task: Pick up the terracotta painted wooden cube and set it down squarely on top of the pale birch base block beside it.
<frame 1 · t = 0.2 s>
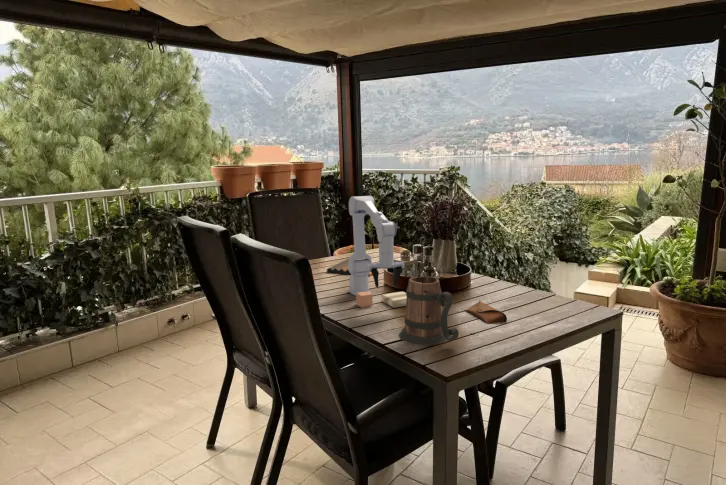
hand: (386, 286, 194), 10 cm above the table, tool pointing down, fingers open, 7 cm apart
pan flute: (357, 270, 266), on the table
base: (398, 302, 205), on the table
sunglasses case: (484, 317, 188), on the table
cube: (364, 305, 203), on the table
tankard: (429, 339, 165), on the table
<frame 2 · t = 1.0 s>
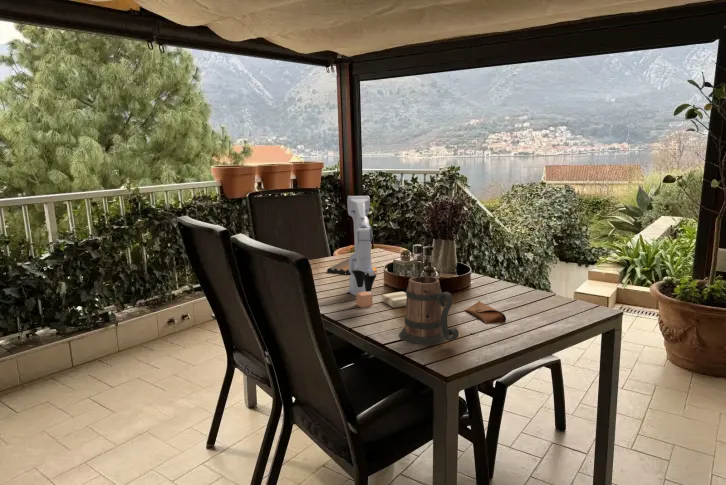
hand: (364, 289, 201), 7 cm above the table, tool pointing down, fingers open, 7 cm apart
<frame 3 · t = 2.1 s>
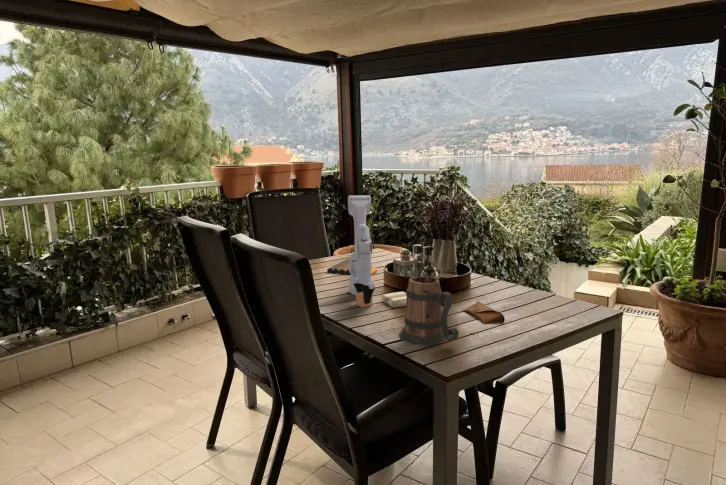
hand: (364, 301, 202), 1 cm above the table, tool pointing down, fingers closed on cube, 5 cm apart
cube: (364, 304, 203), on the table, touching gripper
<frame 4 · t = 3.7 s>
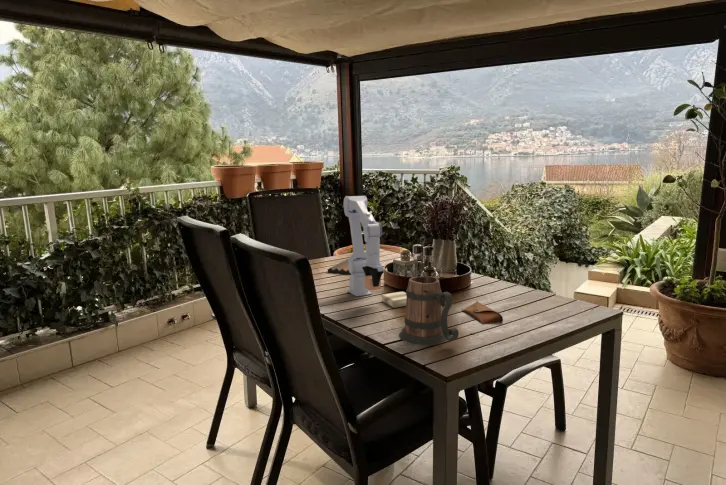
hand: (372, 284, 202), 8 cm above the table, tool pointing down, fingers closed on cube, 5 cm apart
cube: (372, 288, 202), point 7 cm above the table, touching gripper
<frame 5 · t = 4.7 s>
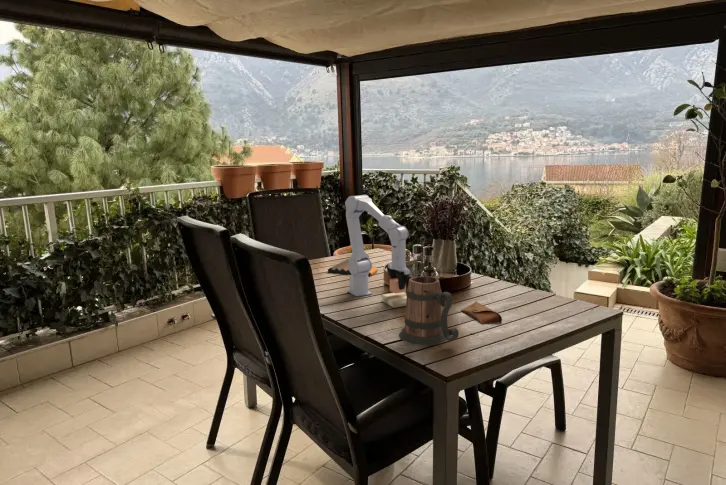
hand: (398, 287, 204), 7 cm above the table, tool pointing down, fingers closed on cube, 5 cm apart
cube: (397, 291, 204), point 5 cm above the table, touching gripper
when the fingers open (5 cm above the table, at t = 5.4 s): cube stays where it is, resting on base.
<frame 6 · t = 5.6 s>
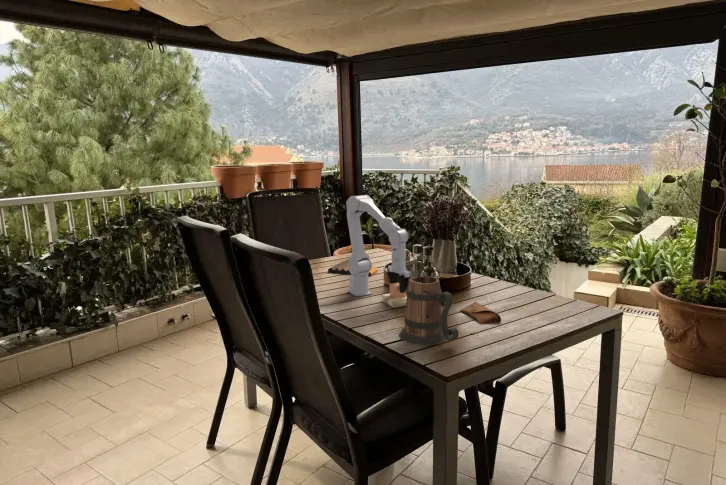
hand: (398, 290, 204), 5 cm above the table, tool pointing down, fingers open, 7 cm apart
cube: (397, 295, 204), point 3 cm above the table, touching base
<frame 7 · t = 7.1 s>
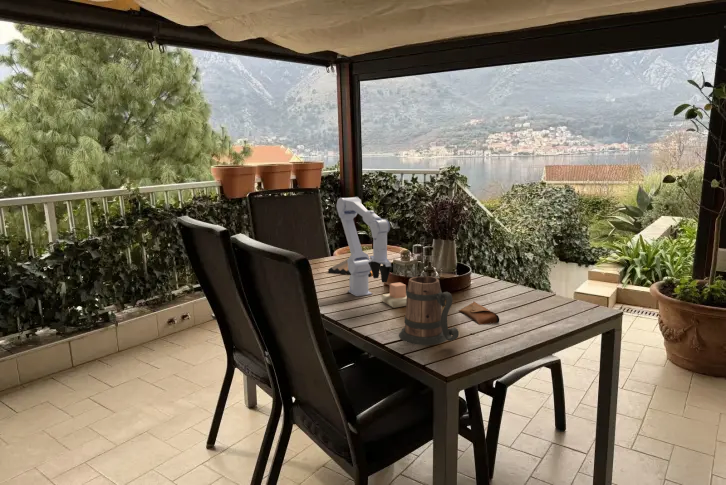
hand: (380, 280, 205), 9 cm above the table, tool pointing down, fingers open, 7 cm apart
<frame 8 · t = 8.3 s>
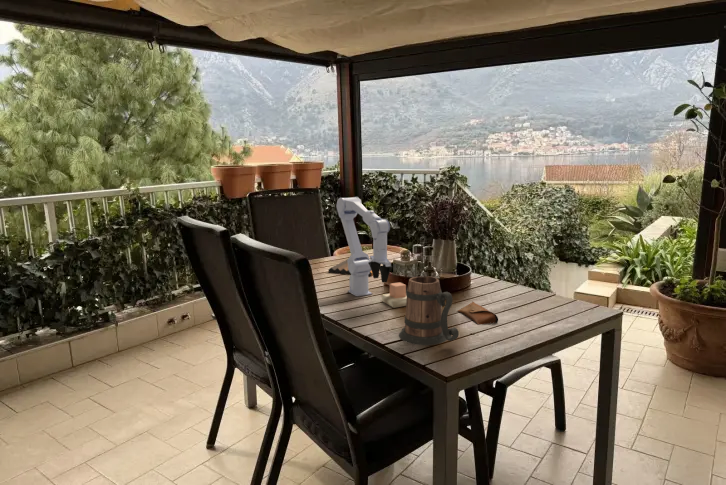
hand: (380, 280, 205), 9 cm above the table, tool pointing down, fingers open, 7 cm apart
at the end: cube inside the target area on the base (0.3 cm from its centre), point 3.0 cm above the base's base; cube tilted 0°; the gripper is holding nothing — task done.
